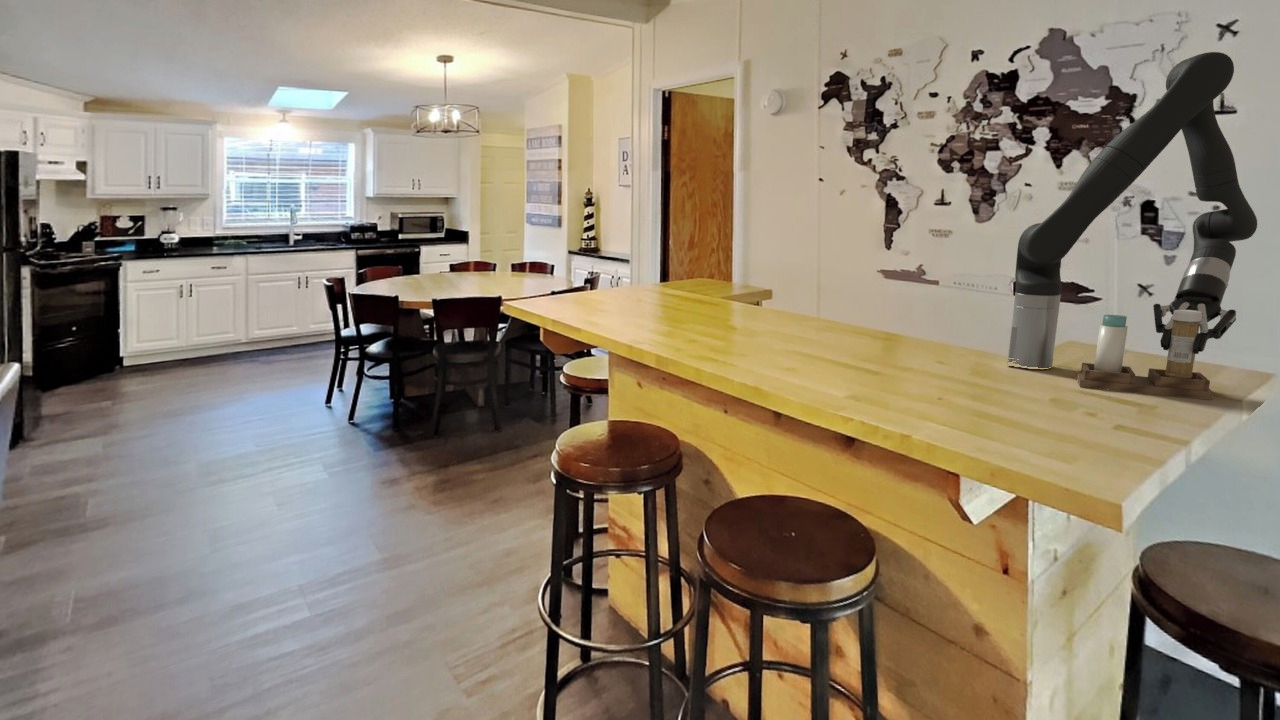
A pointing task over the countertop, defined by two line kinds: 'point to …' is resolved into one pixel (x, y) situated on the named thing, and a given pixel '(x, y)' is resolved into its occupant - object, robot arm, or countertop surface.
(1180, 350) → the sprinkles bottle
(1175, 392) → the pocket board
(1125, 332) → the bottle
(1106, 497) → the countertop surface
